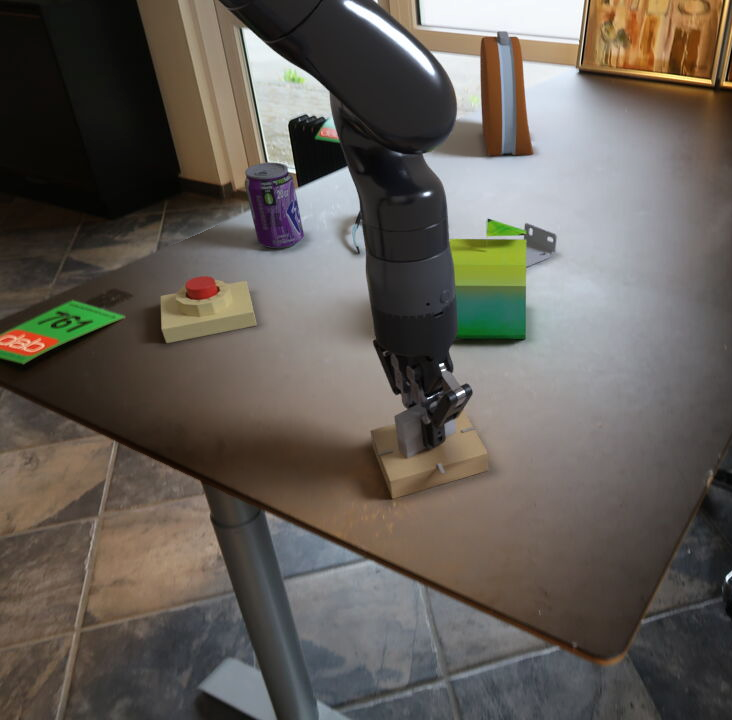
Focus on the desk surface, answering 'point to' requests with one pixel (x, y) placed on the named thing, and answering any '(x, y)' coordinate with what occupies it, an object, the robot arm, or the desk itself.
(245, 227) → the desk surface
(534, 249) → the bracket
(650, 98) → the desk surface
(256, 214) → the beverage can
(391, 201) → the robot arm
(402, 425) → the upright gray plate
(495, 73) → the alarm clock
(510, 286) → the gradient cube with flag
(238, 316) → the box
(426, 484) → the block
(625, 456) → the desk surface
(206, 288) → the release button
